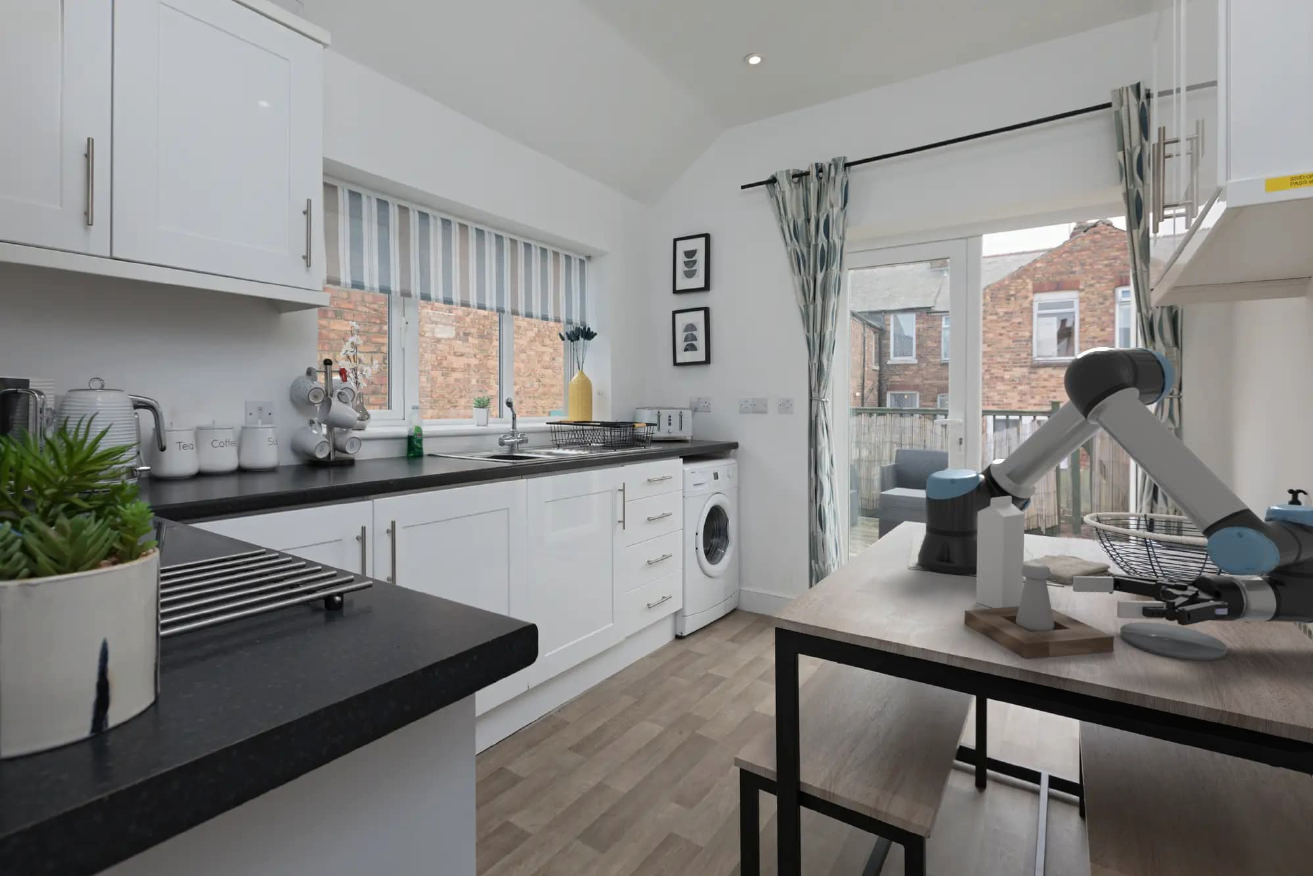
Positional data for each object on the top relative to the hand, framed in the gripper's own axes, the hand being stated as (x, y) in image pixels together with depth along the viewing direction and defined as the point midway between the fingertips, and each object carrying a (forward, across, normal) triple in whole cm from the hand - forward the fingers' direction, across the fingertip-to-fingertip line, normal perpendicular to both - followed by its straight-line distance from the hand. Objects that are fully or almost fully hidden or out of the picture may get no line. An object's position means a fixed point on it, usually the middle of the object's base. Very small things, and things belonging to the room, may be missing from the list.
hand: (1094, 595), depth 110 cm
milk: (+9, +17, -8) cm, 21 cm away
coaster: (-12, -2, -8) cm, 14 cm away
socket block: (+10, 0, -8) cm, 12 cm away
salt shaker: (+10, 0, -8) cm, 12 cm away
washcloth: (-15, +40, -8) cm, 44 cm away
